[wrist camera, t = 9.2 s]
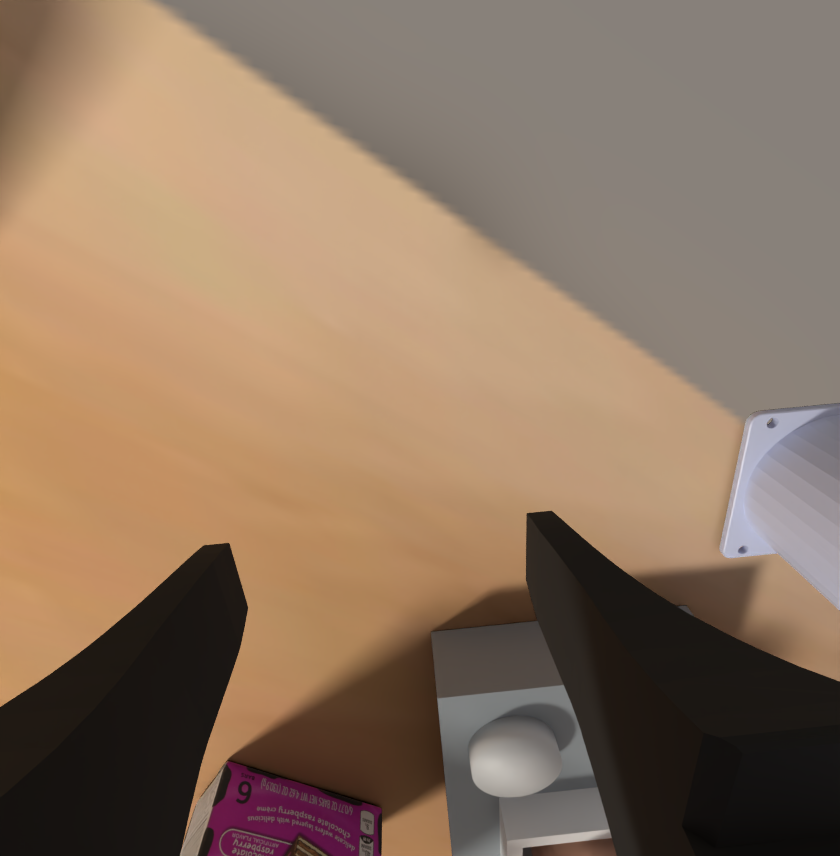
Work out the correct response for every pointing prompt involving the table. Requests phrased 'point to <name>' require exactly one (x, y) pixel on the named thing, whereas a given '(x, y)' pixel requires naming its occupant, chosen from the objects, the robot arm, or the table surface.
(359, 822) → the candy bar box
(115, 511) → the table surface
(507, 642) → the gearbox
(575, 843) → the peach tapered capsule
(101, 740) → the robot arm
